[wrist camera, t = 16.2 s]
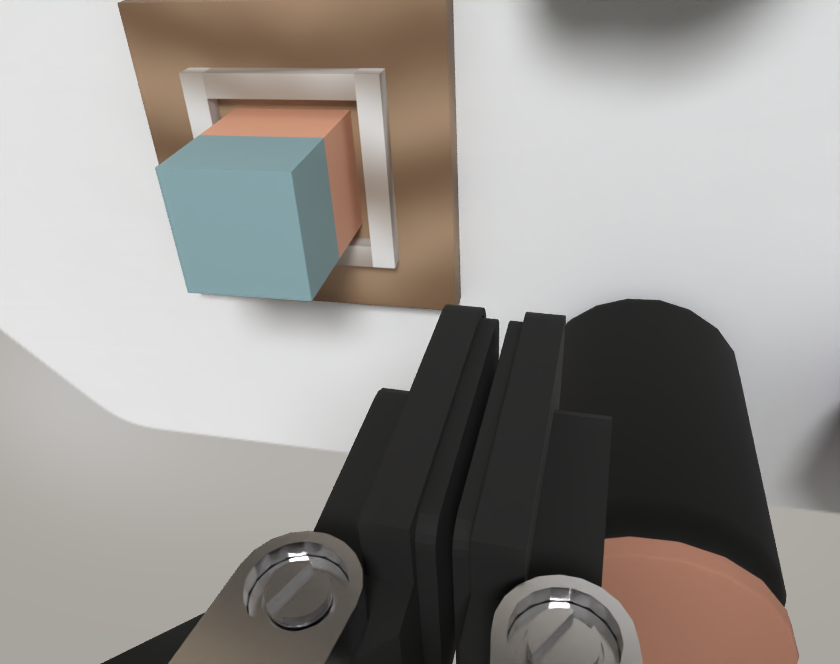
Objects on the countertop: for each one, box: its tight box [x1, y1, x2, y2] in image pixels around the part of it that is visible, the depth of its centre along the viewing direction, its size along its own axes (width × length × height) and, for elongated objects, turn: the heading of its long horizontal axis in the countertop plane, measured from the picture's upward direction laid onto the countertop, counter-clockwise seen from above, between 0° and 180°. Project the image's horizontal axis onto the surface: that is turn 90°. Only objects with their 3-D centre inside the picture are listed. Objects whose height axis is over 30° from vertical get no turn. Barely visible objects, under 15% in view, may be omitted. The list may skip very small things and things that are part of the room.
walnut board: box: [118, 0, 461, 310], centre depth 39 cm, size 16×16×2 cm
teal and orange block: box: [155, 108, 362, 301], centre depth 35 cm, size 6×6×8 cm
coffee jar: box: [559, 299, 799, 664], centre depth 35 cm, size 11×11×18 cm
